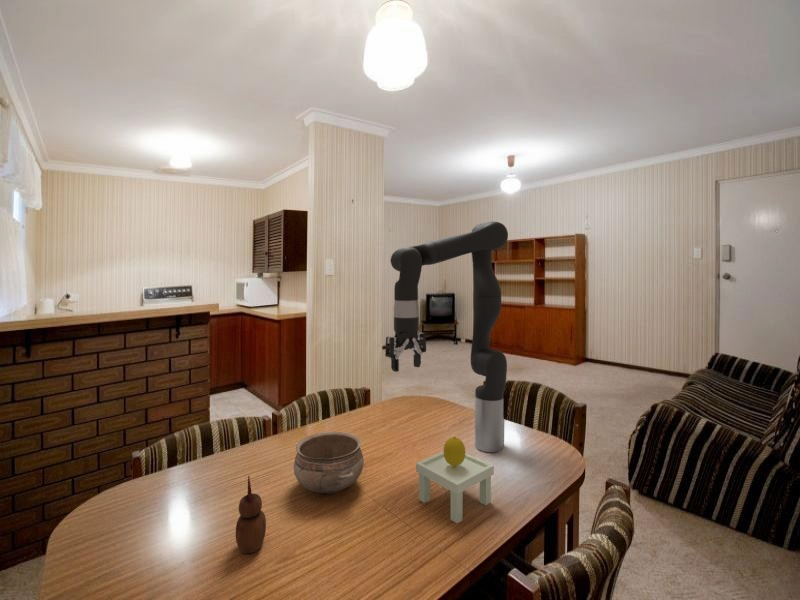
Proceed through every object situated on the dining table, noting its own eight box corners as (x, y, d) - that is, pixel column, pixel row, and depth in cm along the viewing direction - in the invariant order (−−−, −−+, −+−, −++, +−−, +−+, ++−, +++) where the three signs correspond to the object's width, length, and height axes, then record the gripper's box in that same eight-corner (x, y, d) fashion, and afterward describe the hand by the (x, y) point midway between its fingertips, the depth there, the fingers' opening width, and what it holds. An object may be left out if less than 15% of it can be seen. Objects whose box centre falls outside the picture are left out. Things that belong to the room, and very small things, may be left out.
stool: (452, 481, 111) (452, 447, 111) (493, 502, 101) (493, 465, 100) (416, 499, 102) (416, 462, 102) (457, 525, 92) (457, 484, 91)
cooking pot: (282, 477, 114) (281, 436, 113) (342, 460, 124) (341, 422, 123) (312, 523, 93) (311, 472, 92) (382, 498, 103) (381, 452, 102)
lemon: (464, 473, 98) (464, 442, 97) (442, 471, 99) (442, 440, 98) (465, 463, 103) (465, 433, 103) (444, 461, 104) (444, 431, 104)
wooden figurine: (242, 537, 88) (240, 472, 87) (269, 536, 88) (267, 471, 87) (232, 559, 81) (230, 489, 80) (261, 557, 82) (259, 487, 81)
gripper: (396, 318, 110) (396, 375, 111) (432, 314, 119) (432, 367, 120) (379, 316, 115) (380, 370, 116) (415, 312, 125) (415, 363, 126)
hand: (406, 369), depth 118 cm, fingers open, 8 cm apart
